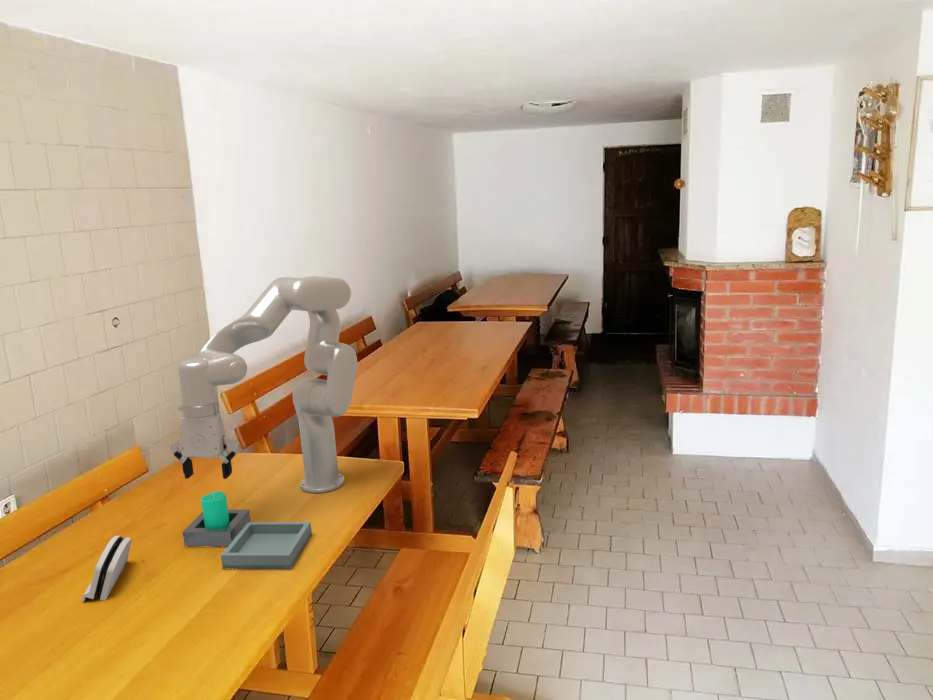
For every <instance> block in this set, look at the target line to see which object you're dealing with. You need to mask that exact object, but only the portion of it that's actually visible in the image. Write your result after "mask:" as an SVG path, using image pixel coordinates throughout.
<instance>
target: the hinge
mask: <svg viewBox="0 0 933 700" xmlns="http://www.w3.org/2000/svg"><path fill="white" fill-rule="evenodd" d="M132 542H133V541H132V538H130V537H128V536H125V537H123V536H122V535H114V536H113V537H112V538H110V540H108V543H107V544H106V546H105V548H104V549H103V551H102V553H101V555H100V557H99V559H98V561H97V563H96V565H95V567H94V571H93V572H94V573H93V576H92V580H91V582H90V583H89V585H88V586H87V588H86V590H85V591H84V592H83V595H82V597H81V604H82V603H85V601H86V600H87V598H88V599H91V600H94V598H98V599H99V601H106V600H107V599H108V597H109V595H110V594H111V592H112V590H113V589H114V586H115V585H116V584H117V581H118V579H119V578H120V576H121V574H122V572H123V570H124V568H125V567H126V565H127V563H126V562H128V560H129V554H130V551H131V550H130V549H131V545H132ZM125 564H126V565H125ZM124 566H125V567H124ZM119 575H120V576H119Z"/></svg>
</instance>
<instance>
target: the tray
mask: <svg viewBox="0 0 933 700" xmlns="http://www.w3.org/2000/svg"><path fill="white" fill-rule="evenodd" d="M311 536H313V533H312V523H311V521H251V522H248V523H247V524H246V525H245V526H244V528H243V529H242V530H241V531H240V532H239V534H238V535H237V536H236V537H235V539H234V540H233V541H232V542H231V543H230V545H229V546H228V547H225V549H224V551H222V553H221V554H220V560H221V567H222V569H223V568H231V569H230V570H292V568H293V566H294V565H295V563H296V561H297V560H298V558H299V557H300V555H301V554H302V552H303V550H304V548H305V546H306V545H307V544H308V542H309V540H310V539H311ZM232 568H234V569H232ZM236 568H237V569H236Z"/></svg>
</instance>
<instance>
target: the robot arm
mask: <svg viewBox="0 0 933 700" xmlns="http://www.w3.org/2000/svg"><path fill="white" fill-rule="evenodd" d="M351 296H352V292H351V287H350V285H349V284H348V282H347V281H345V280H344V279H343V278H340V277H330V276H329V277H327V276H318V275H317V276H311V275H310V276H305V277H291V276H290V277H289V276H288V277H287V276H285V277H283V276H282V277H277V278H275V279H274V280H272V282H271V283H270V284H269V285H268V286H267V287H266V288H265V290H263V292H262V293H261V294H260V295H259V296H258V298H257V299H256V301H255V302H253V304H252V305H251V306H250V308H249V309H248V310H247V311H246V312H245V313H244V314H242V316H240V317H238V318H237V319H235V320H233V321H232V322H231V323H228V324H227V325H226V326H224V327H223V328H221V329H220V330H218V331H217V332H216V333H215V334H213V335H212V336H211V337H210V338H209V339H208V341H207V342H206V343H205V344H204V346H202V348H201V349H200V350H199V352H198V353H197V355H196V357H193V358H189V359H184V360H181V361H180V362H179V364H178V368H177V369H178V379H179V386H180V393H181V401H182V403H181V404H180V405H178V406H177V409H178V411H180V412H182V413H183V414H182V415H183V416H181V417H180V422H179V423H180V424H179V439H178V440H176V441H174V442H172V443H171V444H169V449H170V450H171V452H172V453H173V455H174V457H175V458H176V459H178V460H179V463H180V464H182V472H183V475H184V479H187V480H189V478H190V477H191V476H193V475H194V466H193V460H192V458H195V459H197V458H198V459H199V458H202V459H203V458H205V459H207V458H208V459H209V458H210V459H212V458H214V459H215V458H219V459H220V460H221V461H222V463H221V471H222V479H224V480H226V479H228V478H229V477H230V476H231V475H232V473H233V467H232V459H234V457H235V456H236V455H237V453H238V451H239V449H240V447H241V445H240V443H239V442H238V441H235V440H233V439H231V438H229V437H227V435H226V429H225V426H224V425H225V424H224V422H223V418H222V415H221V413H220V412H218V408H217V406H218V405H217V400H216V397H217V396H216V391H215V390H216V389H215V388H216V387H217V386H226V385H228V386H229V385H234V384H237V383H239V382H241V381H243V379H244V378H245V377H246V375H247V373H248V365H247V362H246V360H245V359H244V358H243V357H242V356H240V355H238V354H235V352H236V351H238V350H239V349H241V348H244V347H245V346H248V345H250V344H251V345H252V344H253V343H256V342H260V341H262V340H266V339H268V338H269V337H271V336H272V335H273V334H274V333H275V332H276V330H278V328H279V327H280V325H282V323H283V321H285V320H286V318H287V317H288V316H289V314H290V313H291V312H292V311H301V312H307V314H308V317H309V328H308V334H307V335H308V336H307V341H306V347H305V351H304V357H303V358H304V359H303V362H304V366H305V368H306V370H308V371H309V372H311V373H313V374H318V375H321V376H322V375H323V376H327V378H326V379H321V378H315V377H307V378H302V379H301V380H299V381H297V382H296V384H295V386H294V387H293V390H292V402H293V403H292V404H293V406H294V410H295V412H296V415H297V421H298V425H299V434H300V444H301V452H302V461H303V469H304V478H302V480H300V483H299V485H300V489H301V490H302V491H304V492H307V493H313V494H320V493H327V492H331V491H335V490H336V489H337V490H338V489H339V488H341V487H342V486H343V485H344V484H345V476H344V475H343V474H341V473H340V472H339V466H338V463H339V462H338V455H337V445H336V433H335V425H334V420H333V418H339V417H341V416H343V415H345V414H346V413H347V411H348V410H349V408H350V405H351V403H352V398H353V394H354V387H355V382H356V377H357V370H358V357H357V353H356V351H355V349H354V348H353V347H352V346H351V345H349V344H348V343H347V344H346V343H343V342H339V340H340V339H339V338H340V331H341V320H340V315H339V313H338V310H341V309H343V308H344V307H346V306H347V305H348V303H349V302H350V300H351ZM179 446H180V447H179ZM228 447H230V448H231V450H230V452H229V451H228V450H227V449H228Z"/></svg>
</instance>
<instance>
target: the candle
mask: <svg viewBox="0 0 933 700" xmlns="http://www.w3.org/2000/svg"><path fill="white" fill-rule="evenodd" d="M200 503H201V509H202V512H203V517H204V524H205V528H226V527H227V526H228V525H229V524H230V520H229V513H228V510H229V507H228V499H227V494H226V493H225V492H223V491H214V490H212V491H211V492H210V493H207V494H205V495H204V496H202V497H200Z"/></svg>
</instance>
